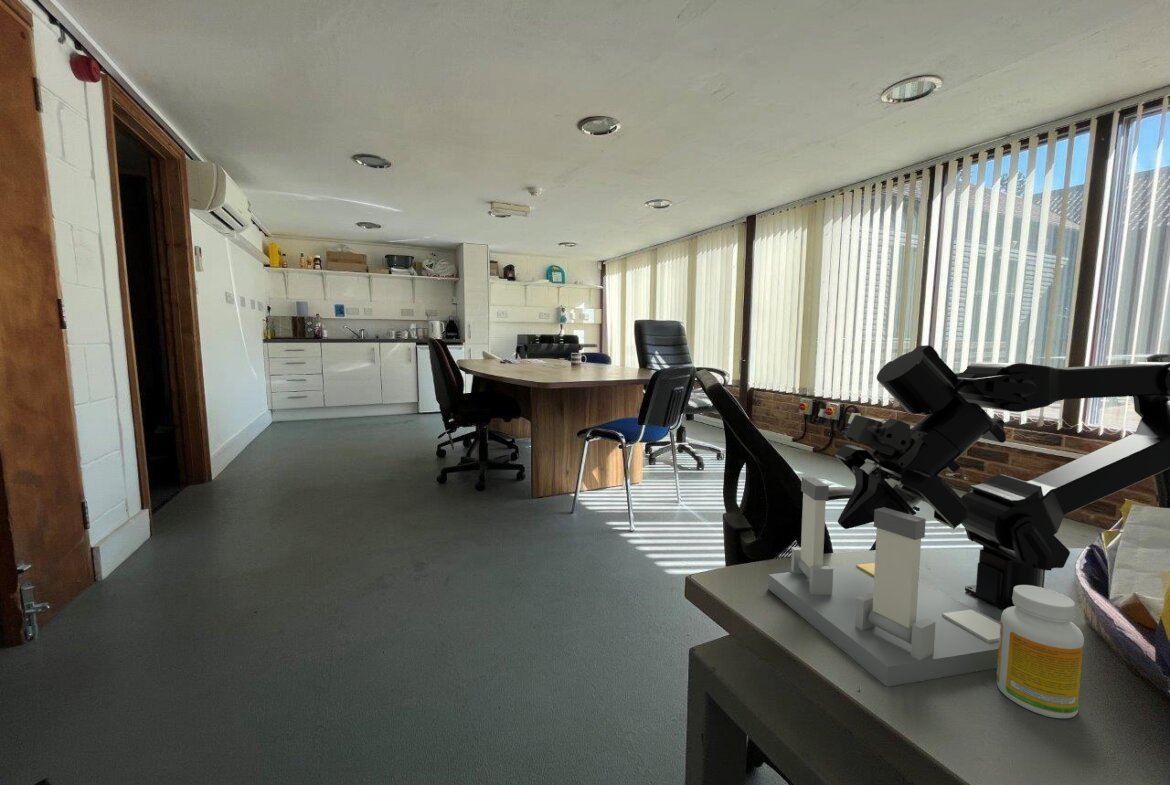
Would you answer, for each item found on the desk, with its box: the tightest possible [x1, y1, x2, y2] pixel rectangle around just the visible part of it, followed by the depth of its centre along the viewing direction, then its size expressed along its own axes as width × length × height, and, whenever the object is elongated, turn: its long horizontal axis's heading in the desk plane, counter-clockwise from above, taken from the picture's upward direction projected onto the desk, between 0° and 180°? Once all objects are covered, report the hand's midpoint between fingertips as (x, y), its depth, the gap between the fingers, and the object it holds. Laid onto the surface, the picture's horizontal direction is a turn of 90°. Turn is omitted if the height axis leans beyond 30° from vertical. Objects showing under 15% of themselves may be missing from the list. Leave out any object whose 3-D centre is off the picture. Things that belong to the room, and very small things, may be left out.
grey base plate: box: [768, 546, 1001, 688], centre depth 56 cm, size 18×19×5 cm
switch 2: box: [868, 507, 927, 644], centre depth 48 cm, size 2×4×12 cm, turn 27°
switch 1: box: [797, 476, 830, 579], centre depth 60 cm, size 2×4×12 cm, turn 178°
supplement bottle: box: [996, 585, 1085, 719], centre depth 43 cm, size 5×5×10 cm
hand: (841, 525), depth 60 cm, fingers closed
